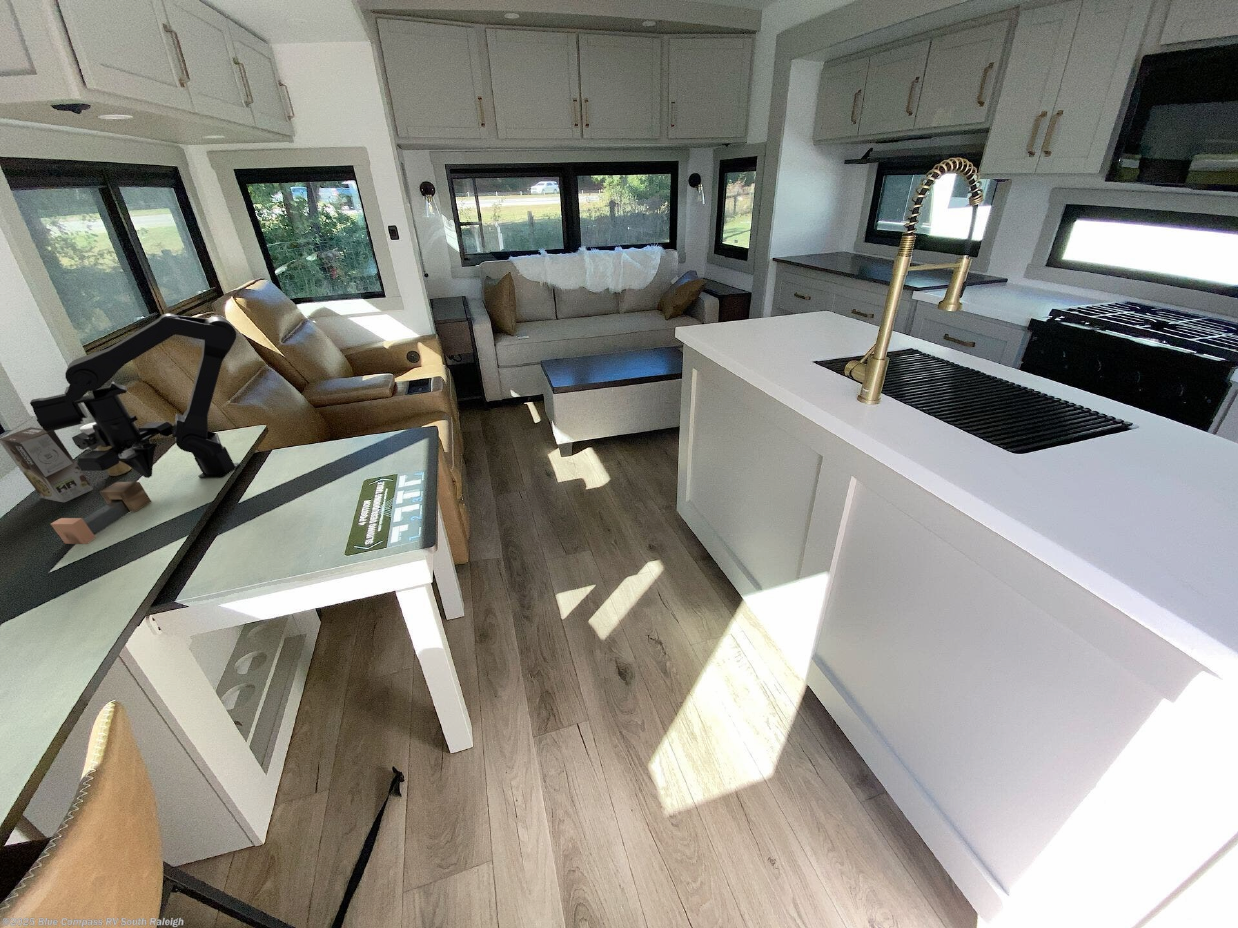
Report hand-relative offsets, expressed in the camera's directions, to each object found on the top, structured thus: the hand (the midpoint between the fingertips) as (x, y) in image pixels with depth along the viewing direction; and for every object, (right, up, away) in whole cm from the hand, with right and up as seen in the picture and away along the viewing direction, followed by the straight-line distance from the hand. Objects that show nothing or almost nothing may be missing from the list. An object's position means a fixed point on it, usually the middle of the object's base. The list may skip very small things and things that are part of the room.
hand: (148, 476), depth 121 cm
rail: (-1, -9, -8) cm, 12 cm away
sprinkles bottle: (-18, +1, +12) cm, 21 cm away
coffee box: (-23, -4, +4) cm, 23 cm away
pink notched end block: (-1, -13, -14) cm, 19 cm away
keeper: (0, -7, -4) cm, 8 cm away
